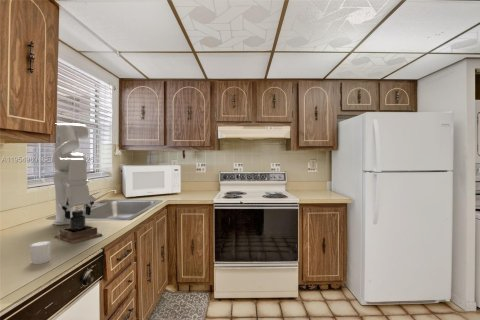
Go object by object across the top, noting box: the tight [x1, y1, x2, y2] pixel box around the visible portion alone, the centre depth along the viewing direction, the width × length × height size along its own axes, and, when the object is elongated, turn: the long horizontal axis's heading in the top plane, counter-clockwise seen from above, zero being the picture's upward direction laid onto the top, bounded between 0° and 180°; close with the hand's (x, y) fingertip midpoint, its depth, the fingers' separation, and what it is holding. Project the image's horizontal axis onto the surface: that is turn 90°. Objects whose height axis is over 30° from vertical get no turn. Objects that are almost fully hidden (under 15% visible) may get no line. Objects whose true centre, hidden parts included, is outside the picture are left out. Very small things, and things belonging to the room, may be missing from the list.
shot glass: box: [28, 240, 52, 265], centre depth 104 cm, size 7×7×7 cm
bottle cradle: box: [54, 224, 103, 244], centre depth 135 cm, size 18×14×4 cm
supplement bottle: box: [69, 209, 87, 233], centre depth 135 cm, size 7×7×12 cm
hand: (78, 216), depth 135 cm, fingers open, 9 cm apart
